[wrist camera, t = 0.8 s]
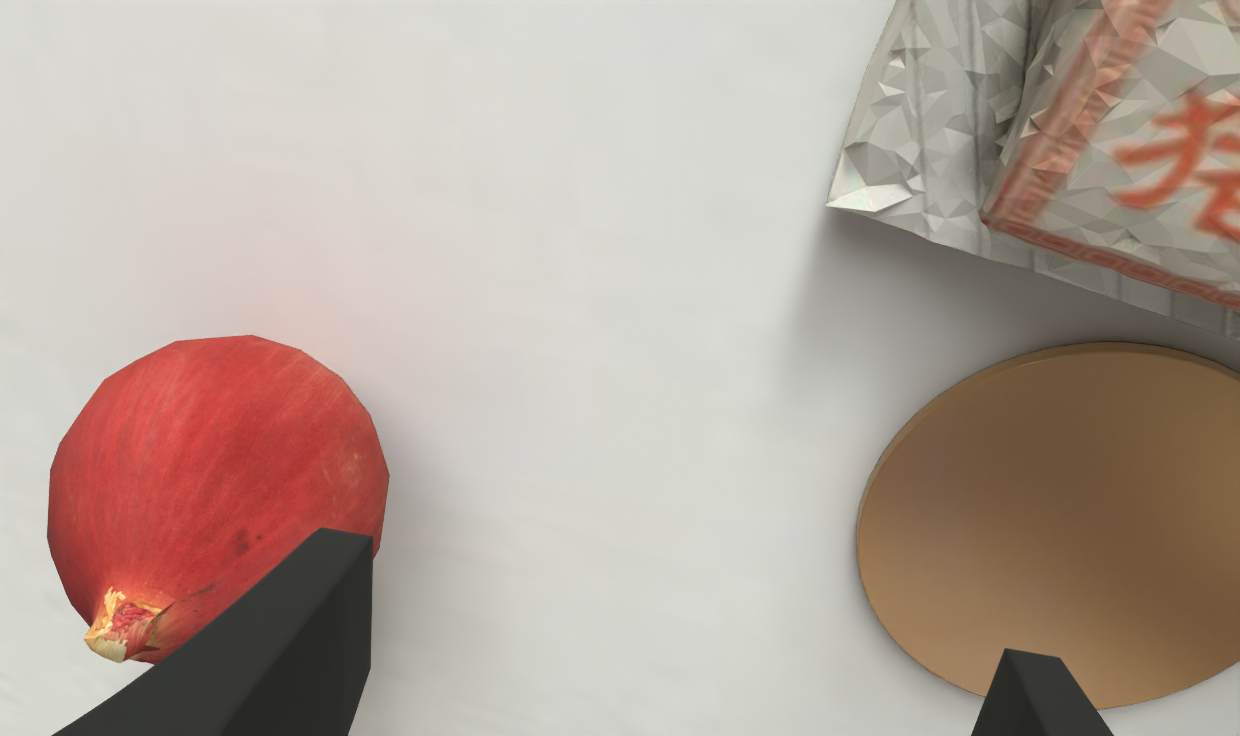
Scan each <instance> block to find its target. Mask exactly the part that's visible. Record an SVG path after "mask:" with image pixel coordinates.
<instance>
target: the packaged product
mask: <svg viewBox="0 0 1240 736" xmlns="http://www.w3.org/2000/svg"><path fill="white" fill-rule="evenodd" d="M826 206H829V207H833V208H837V209H841V210H845V211H849V212H853V213H856V214H859V215H862V216H865V217H868V218H871V219H874V220H877V221H880V222H883V223H886V224H889V225H893V226H896V227H899V228H902V229H905V230H908V231H911V232H913V233H915V234H917V235H919V236H921V237H923V238H925V239H927V240H929V241H931V242H934V243H938V244H941V245H944V246H948V247H951V248H954V249H957V250H961V251H964V252H967V253H970V254H974V255H977V256H980V257H983V258H986V259H989V260H993V261H997V262H1001V263H1005V264H1009V265H1013V266H1019V267H1023V268H1026V269H1029V270H1031V271H1034V272H1037V273H1040V274H1043V275H1046V276H1049V277H1052V278H1055V279H1058V280H1061V281H1063V282H1066V283H1069V284H1072V285H1075V286H1078V287H1081V288H1084V289H1087V290H1090V291H1093V292H1096V293H1099V294H1102V295H1105V296H1108V297H1110V298H1113V299H1116V300H1119V301H1122V302H1125V303H1128V304H1131V305H1134V306H1137V307H1140V308H1143V309H1146V310H1149V311H1152V312H1155V313H1158V314H1161V315H1164V316H1167V317H1170V318H1173V319H1176V320H1179V321H1182V322H1185V323H1188V324H1191V325H1194V326H1196V327H1199V328H1202V329H1205V330H1208V331H1211V332H1214V333H1218V334H1221V335H1224V336H1227V337H1230V338H1233V339H1236V340H1240V0H897V1H896V3H895V5H894V8H893V10H892V12H891V14H890V17H889V19H888V21H887V24H886V26H885V28H884V30H883V33H882V35H881V37H880V39H879V42H878V44H877V46H876V48H875V51H874V53H873V55H872V57H871V60H870V62H869V64H868V66H867V69H866V72H865V75H864V79H863V82H862V85H861V88H860V91H859V94H858V98H857V101H856V104H855V107H854V110H853V113H852V117H851V120H850V123H849V126H848V129H847V132H846V135H845V139H844V142H843V145H842V148H841V151H840V154H839V158H838V161H837V164H836V167H835V170H834V173H833V177H832V180H831V185H830V190H829V195H828V200H827V205H826Z"/></svg>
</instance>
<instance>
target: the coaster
mask: <svg viewBox="0 0 1240 736" xmlns="http://www.w3.org/2000/svg"><path fill="white" fill-rule="evenodd" d="M856 547H857V558H858V564H859V571H860V577H861V581H862V584H863V587H864V590H865V593H866V596H867V599H868V601H869V603H870V605H871V607H872V608H873V610H874V612H875V614H876V616H877V618H878V620H879V621H880V622H881V624H882V625H883V626H884V628H885V629H886V631H887V632H888V633H889V635H890V636H891V637H892V638H893V639H894V641H895V642H896V643H897V644H898V645H899V646H900V647H901V648H902V649H903V650H904V651H905V652H906V653H907V654H908V655H909V656H911V657H912V658H913V659H915V660H916V661H917V662H918V663H920V664H921V665H922V666H923V667H925V668H926V669H927V670H929V671H931V672H932V673H934V674H936V675H937V676H939V677H941V678H942V679H944V680H946V681H947V682H949V683H952V684H954V685H956V686H958V687H960V688H963V689H965V690H967V691H969V692H971V693H974V694H977V695H981V696H984V697H986V696H987V693H988V690H989V688H990V685H991V683H992V680H993V677H994V675H995V672H996V670H997V667H998V664H999V662H1000V659H1001V657H1002V654H1003V651H1004V649H1005V648H1009V649H1014V650H1020V651H1026V652H1031V653H1037V654H1043V655H1048V656H1054V657H1060V658H1061V660H1062V661H1063V663H1064V664H1065V665H1066V667H1067V668H1068V670H1069V671H1070V673H1071V674H1072V675H1073V677H1074V678H1075V680H1076V681H1077V683H1078V684H1079V686H1080V687H1081V689H1082V690H1083V691H1084V693H1085V694H1086V696H1087V697H1088V699H1089V700H1090V702H1091V703H1092V705H1093V706H1094V707H1095V709H1107V708H1113V707H1120V706H1126V705H1133V704H1137V703H1141V702H1145V701H1149V700H1153V699H1157V698H1161V697H1164V696H1167V695H1170V694H1173V693H1175V692H1178V691H1181V690H1184V689H1187V688H1189V687H1192V686H1194V685H1196V684H1198V683H1200V682H1202V681H1205V680H1207V679H1209V678H1211V677H1213V676H1215V675H1217V674H1219V673H1220V672H1222V671H1224V670H1225V669H1227V668H1229V667H1230V666H1232V665H1234V664H1235V663H1237V662H1239V661H1240V374H1238V373H1236V372H1234V371H1232V370H1230V369H1228V368H1226V367H1224V366H1222V365H1220V364H1218V363H1216V362H1214V361H1211V360H1208V359H1205V358H1202V357H1199V356H1196V355H1193V354H1191V353H1188V352H1184V351H1179V350H1175V349H1170V348H1165V347H1161V346H1156V345H1147V344H1136V343H1126V342H1100V343H1083V344H1075V345H1067V346H1059V347H1053V348H1049V349H1045V350H1040V351H1036V352H1032V353H1028V354H1024V355H1021V356H1018V357H1015V358H1012V359H1010V360H1007V361H1004V362H1001V363H998V364H995V365H993V366H991V367H989V368H987V369H984V370H982V371H980V372H978V373H976V374H974V375H972V376H970V377H968V378H966V379H964V380H962V381H961V382H959V383H958V384H956V385H954V386H953V387H951V388H950V389H948V390H947V391H945V392H943V393H942V394H940V395H939V396H938V397H936V398H935V399H934V400H933V401H931V402H930V403H929V404H928V405H926V406H925V407H924V408H923V409H921V410H920V411H919V412H918V413H917V414H916V415H915V416H914V417H913V418H912V419H911V420H910V421H909V422H908V423H907V424H906V425H905V426H904V427H903V428H902V429H901V430H900V431H899V432H898V433H897V435H896V436H895V437H894V439H893V440H892V441H891V443H890V444H889V445H888V447H887V448H886V450H885V451H884V452H883V454H882V455H881V457H880V459H879V460H878V462H877V464H876V466H875V468H874V470H873V472H872V474H871V475H870V477H869V480H868V483H867V485H866V488H865V491H864V494H863V497H862V500H861V504H860V509H859V515H858V520H857V545H856Z"/></svg>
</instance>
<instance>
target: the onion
mask: <svg viewBox="0 0 1240 736" xmlns="http://www.w3.org/2000/svg"><path fill="white" fill-rule="evenodd" d="M389 476H390V475H389V472H388V469H387V465H386V462H385V459H384V455H383V452H382V449H381V446H380V442H379V439H378V436H377V432H376V429H375V427H374V424H373V421H372V419H371V416H370V414H369V413H368V411H367V410H366V409H365V407H364V406H363V405H362V404H361V402H360V401H359V400H358V398H357V397H356V396H355V394H354V393H353V392H352V390H351V389H350V388H349V386H348V385H347V384H346V383H345V381H344V380H343V379H342V378H341V377H340V376H338V375H337V374H335V373H334V372H332V371H331V370H329V369H328V368H327V367H325V366H324V365H322V364H321V363H319V362H318V361H316V360H315V359H313V358H312V357H310V356H309V355H307V354H306V353H305V352H303V351H302V350H299V349H296V348H293V347H290V346H286V345H283V344H280V343H277V342H273V341H270V340H267V339H264V338H260V337H257V336H254V335H245V336H232V337H219V338H206V339H195V340H184V341H175V342H173V343H171V344H169V345H167V346H165V347H163V348H161V349H159V350H157V351H155V352H153V353H150V354H148V355H146V356H144V357H142V358H140V359H138V360H136V361H134V362H133V363H131V364H129V365H128V366H126V367H124V368H123V369H121V370H119V371H118V372H116V373H114V374H113V375H111V376H109V377H108V378H106V379H105V380H104V381H103V382H102V384H101V385H100V386H99V388H98V389H97V390H96V392H95V393H94V394H93V396H92V397H91V398H90V400H89V401H88V403H87V404H86V405H85V407H84V408H83V410H82V411H81V413H80V414H79V416H78V417H77V418H76V420H75V421H74V423H73V424H72V426H71V427H70V429H69V430H68V432H67V433H66V435H65V436H64V438H63V439H62V441H61V442H60V444H59V447H58V449H57V452H56V455H55V458H54V461H53V464H52V466H51V469H50V486H49V507H48V528H47V539H48V543H49V548H50V552H51V556H52V558H53V561H54V564H55V566H56V569H57V571H58V574H59V576H60V579H61V582H62V584H63V587H64V589H65V592H66V594H67V596H68V598H69V601H70V603H71V605H72V606H73V607H74V608H75V609H76V611H77V612H78V613H79V614H80V615H81V617H82V618H83V619H84V620H85V622H86V623H87V624H88V625H89V626H90V629H89V631H88V633H87V634H86V636H85V637H84V641H85V642H86V643H87V645H88V646H89V648H90V649H91V650H92V651H94V652H95V653H97V654H99V655H100V656H102V657H104V658H107V659H109V660H111V661H114V662H117V663H121V662H124V661H126V660H128V659H131V660H135V661H139V662H147V663H151V664H154V665H156V664H157V663H158V662H160V661H161V660H162V659H164V658H165V657H166V656H168V655H169V654H170V653H172V652H173V651H175V650H176V649H177V648H179V647H180V646H181V645H182V644H184V643H185V642H186V641H187V640H189V639H190V638H191V637H193V636H194V635H195V634H196V633H197V632H199V631H200V630H201V629H202V628H203V627H205V626H206V625H207V624H208V623H210V622H211V621H212V620H213V619H214V618H216V617H217V616H218V615H219V614H221V613H222V612H223V611H224V610H225V609H227V608H228V607H229V606H230V605H232V604H233V603H234V602H235V601H236V600H238V599H239V598H240V597H241V596H242V595H243V594H244V593H246V592H247V591H248V590H249V589H250V588H251V587H253V586H254V585H255V584H256V583H257V582H258V581H259V580H261V579H262V578H263V577H264V576H265V575H266V574H267V573H269V572H270V571H271V570H272V569H273V568H274V567H275V566H276V565H278V564H279V563H280V562H281V561H282V560H283V559H284V558H285V557H286V556H288V555H289V554H290V553H291V552H292V551H293V550H294V549H295V548H296V547H297V546H299V545H300V544H301V543H302V542H303V541H304V540H305V539H306V538H307V537H309V536H310V535H311V534H312V533H313V532H315V531H317V530H318V529H320V528H321V527H323V528H329V529H334V530H340V531H346V532H351V533H357V534H363V535H368V536H373V559H374V557H375V555H376V554H377V552H378V550H379V548H380V541H381V534H382V527H383V519H384V512H385V505H386V498H387V491H388V483H389Z"/></svg>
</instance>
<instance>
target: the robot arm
mask: <svg viewBox="0 0 1240 736" xmlns="http://www.w3.org/2000/svg"><path fill="white" fill-rule="evenodd" d="M372 573H373V536H368V535H363V534H357V533H351V532H346V531H340V530H334V529H329V528H323V527H321V528H320V529H318V530H317V531H315V532H313V533H312V534H311V535H310V536H309V537H307V538H306V539H305V540H304V541H303V542H302V543H301V544H300V545H299V546H297V547H296V548H295V549H294V550H293V551H292V552H291V553H290V554H289V555H288V556H286V557H285V558H284V559H283V560H282V561H281V562H280V563H279V564H278V565H276V566H275V567H274V568H273V569H272V570H271V571H270V572H269V573H267V574H266V575H265V576H264V577H263V578H262V579H261V580H259V581H258V582H257V583H256V584H255V585H254V586H253V587H251V588H250V589H249V590H248V591H247V592H246V593H244V594H243V595H242V596H241V597H240V598H239V599H238V600H236V601H235V602H234V603H233V604H232V605H230V606H229V607H228V608H227V609H225V610H224V611H223V612H222V613H221V614H219V615H218V616H217V617H216V618H214V619H213V620H212V621H211V622H210V623H208V624H207V625H206V626H205V627H203V628H202V629H201V630H200V631H199V632H197V633H196V634H195V635H194V636H193V637H191V638H190V639H189V640H187V641H186V642H185V643H184V644H182V645H181V646H180V647H179V648H177V649H176V650H175V651H173V652H172V653H170V654H169V655H168V656H166V657H165V658H164V659H162V660H161V661H160V662H158V663H157V664H156V665H154V666H153V667H152V668H150V669H149V670H148V671H146V672H145V673H143V674H142V675H141V676H139V677H138V678H137V679H135V680H134V681H133V682H131V683H130V684H129V685H127V686H126V687H125V688H123V689H122V690H120V691H119V692H117V693H116V694H115V695H113V696H112V697H110V698H109V699H107V700H106V701H104V702H103V703H101V704H100V705H98V706H97V707H95V708H94V709H92V710H91V711H89V712H88V713H86V714H85V715H83V716H82V717H80V718H79V719H77V720H76V721H74V722H72V723H71V724H69V725H68V726H66V727H64V728H63V729H61V730H60V731H58V732H56V733H55V734H53V735H52V736H348V733H349V730H350V727H351V725H352V722H353V719H354V716H355V713H356V710H357V707H358V704H359V701H360V698H361V695H362V692H363V689H364V686H365V683H366V680H367V677H368V674H369V671H370V668H371V620H372ZM971 736H1114V735H1113V733H1112V732H1111V731H1110V729H1109V728H1108V726H1107V725H1106V723H1105V722H1104V720H1103V719H1102V718H1101V716H1100V715H1099V713H1098V712H1097V710H1096V709H1095V707H1094V706H1093V705H1092V703H1091V702H1090V700H1089V699H1088V697H1087V696H1086V694H1085V693H1084V691H1083V690H1082V689H1081V687H1080V686H1079V684H1078V683H1077V681H1076V680H1075V678H1074V677H1073V675H1072V674H1071V673H1070V671H1069V670H1068V668H1067V667H1066V665H1065V664H1064V663H1063V661H1062V660H1061V658H1060V657H1054V656H1048V655H1043V654H1037V653H1031V652H1026V651H1020V650H1014V649H1009V648H1005V649H1004V651H1003V654H1002V657H1001V659H1000V662H999V664H998V667H997V670H996V672H995V675H994V677H993V680H992V683H991V685H990V688H989V690H988V693H987V696H986V698H985V701H984V703H983V706H982V709H981V711H980V714H979V716H978V719H977V722H976V724H975V727H974V729H973V732H972V735H971Z"/></svg>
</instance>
